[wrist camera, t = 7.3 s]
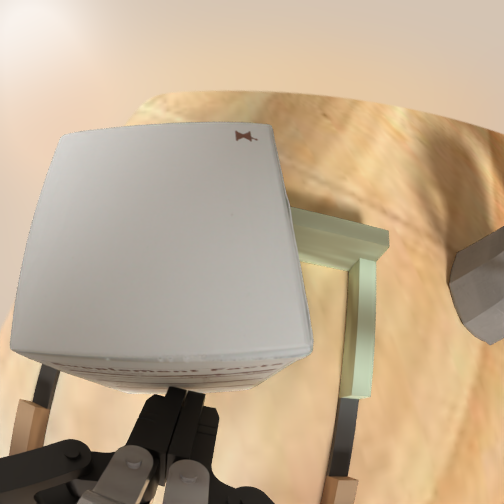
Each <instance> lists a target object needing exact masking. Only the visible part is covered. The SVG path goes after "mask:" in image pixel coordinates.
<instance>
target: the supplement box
mask: <svg viewBox="0 0 504 504" xmlns="http://www.w3.org/2000/svg"><path fill="white" fill-rule="evenodd" d="M313 342H314V341H313V332H312V328H311V321H310V314H309V308H308V303H307V298H306V293H305V287H304V282H303V276H302V271H301V265H300V260H299V254H298V249H297V244H296V239H295V234H294V229H293V222H292V215H291V209H290V203H289V200H288V197H287V194H286V189H285V185H284V180H283V175H282V171H281V166H280V162H279V157H278V152H277V148H276V143H275V139H274V133H273V128H272V126H271V125H269V124H258V123H245V122H188V123H166V124H150V125H135V126H124V127H114V128H106V129H97V130H88V131H80V132H75V133H70V134H65V135H63V136H62V137H61V138H60V140H59V143H58V146H57V148H56V151H55V153H54V156H53V159H52V161H51V164H50V167H49V170H48V173H47V176H46V179H45V182H44V185H43V188H42V191H41V194H40V197H39V200H38V204H37V207H36V210H35V213H34V217H33V220H32V225H31V228H30V232H29V236H28V240H27V244H26V248H25V253H24V257H23V262H22V267H21V272H20V277H19V282H18V287H17V293H16V299H15V306H14V313H13V322H12V330H11V339H10V349H11V350H12V351H14V352H16V353H18V354H20V355H23V356H25V357H27V358H29V359H32V360H34V361H37V362H39V363H42V364H44V365H47V366H50V367H52V368H54V369H57V370H60V371H62V372H65V373H68V374H71V375H74V376H77V377H80V378H83V379H86V380H89V381H92V382H95V383H98V384H101V385H103V386H106V387H109V388H113V389H116V390H119V391H122V392H125V393H129V394H166V393H167V390H168V388H169V386H170V387H177V388H181V389H186V390H187V392H188V390H190V391H195V392H199V393H212V392H225V391H238V390H248V389H251V388H253V387H255V386H257V385H259V384H260V383H262V382H263V381H265V380H267V379H268V378H270V377H271V376H273V375H274V374H276V373H278V372H279V371H281V370H282V369H284V368H285V367H287V366H289V365H290V364H292V363H293V362H295V361H297V360H300V359H302V358H305V357H307V356H308V355H310V354H311V352H312V351H313Z"/></svg>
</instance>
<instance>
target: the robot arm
mask: <svg viewBox="0 0 504 504" xmlns="http://www.w3.org/2000/svg"><path fill="white" fill-rule="evenodd" d="M205 395H206V394H203V393H199V392H195V391H190V390H188V392H187V390H186V389H181V388H177V387H170V386H169V388H168V390H167V393H166V395H165V397H164V396H160V395H157V394H154V395H153V396H152V397H150V398H149V399H148V400H146V402H145V404H144V406H143V409H142V411H141V413H140V415H139V418H138V419H137V422H136V424H135V426H134V428H133V430H132V432H131V435H130V437H129V439H128V441H127V443H126V445H125V446H123V447H121V448H119V449H118V450H117V451H116V452H112V453H102V452H92V451H90V449H89V448H88V446H87V445H86V444H84V443H83V442H81V441H78V440H74V439H67V440H63V441H60V442H57V443H54V444H50V445H47V446H44V447H40V448H37V449H33V450H30V451H26V452H22V453H19V454H15V455H11V456H7V457H3V458H0V504H152V503H153V500H154V496H155V493H156V490H157V486H158V485H161V486H165V483H166V488H165V493H164V499H163V504H274V502H273V501H272V500H271V499H270V498H269V497H268V496H267V495H266V494H265V493H264V492H263V491H261V490H259V489H257V488H254V487H248V486H244V487H239V488H236V489H235V488H233V487H231V486H228V485H226V484H224V483H222V482H221V481H219V480H218V479H217V478H216V477H215V476H214V474H213V472H212V468H211V464H212V458H213V452H214V446H215V441H216V435H217V429H218V423H219V416H218V413H217V410H216V408H211V407H206V406H204V401H205Z"/></svg>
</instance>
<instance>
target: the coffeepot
mask: <svg viewBox="0 0 504 504" xmlns="http://www.w3.org/2000/svg"><path fill="white" fill-rule="evenodd" d="M449 286H450V291H451V296H452V300H453V303H454V306H455V309H456V311H457V314H458V316H459V317H460V319H461V321H462V323H463V325H464V326H465V327H466V328H467V329H468V331H469V332H471V333H472V334H473V335H474V336H475V337H477V338H478V339H480V340H482V341H485V342H487V343H488V344H489V345H492V344H494V343H496V342H497V341H499V340H501V339H503V338H504V226H503V227H501V228H500V229H498V230H496V231H495V232H493V233H491V234H490V235H488V236H486V237H484V238H483V239H481V240H479V241H477V242H476V243H474V244H472V245H470V246H469V247H467V248H465V249H463V250H461V251H460V252H458V253H457V254H456V257H455V261H454V264H453V266H452V269H451V274H450V282H449Z"/></svg>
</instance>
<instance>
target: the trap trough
mask: <svg viewBox="0 0 504 504" xmlns="http://www.w3.org/2000/svg"><path fill="white" fill-rule="evenodd" d="M290 209H291V215H292V222H293V229H294V234H295V239H296V244H297V249H298V254H299V260H300V261H302V262H307V263H312V264H316V265H321V266H326V267H330V268H335V269H340V270H344V271H349V277H348V298H347V315H346V329H345V342H344V353H343V363H342V373H341V382H340V391H339V399H338V407H337V414H336V421H335V428H334V435H333V441H332V447H331V453H330V459H329V465H328V470H327V475H326V481H325V486H324V491H323V495H322V500H321V504H354V500H355V495H356V491H357V485H358V480H356V479H353V478H350V477H347V476H348V471H349V465H350V459H351V453H352V447H353V440H354V434H355V426H356V419H357V411H358V402H359V399H363V398H368V397H370V396H371V386H372V374H373V361H374V344H375V321H376V261H377V260H378V259H379V258H380V257H381V256H382V255H383V253H384V252H385V251H386V250H387V249H388V248H389V232H388V230H384V229H380V228H376V227H372V226H369V225H365V224H361V223H357V222H353V221H349V220H345V219H341V218H337V217H333V216H328V215H324V214H320V213H316V212H312V211H307V210H303V209H299V208H294V207H290ZM59 373H60V370H57V369H54V368H52V367H50V366H47V365H44V364H42V366H41V370H40V374H39V377H38V381H37V385H36V389H35V393H34V397H33V401H32V402H31V401H26V400H21V399H19V404H18V408H17V413H16V418H15V423H14V428H13V434H12V440H11V446H10V453H9V456H11V455H15V454H19V453H22V452H26V451H30V450H33V449H37V448H40V447H43V442H44V437H45V432H46V427H47V422H48V417H49V413H50V409H51V404H52V400H53V396H54V392H55V388H56V384H57V380H58V376H59Z"/></svg>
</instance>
